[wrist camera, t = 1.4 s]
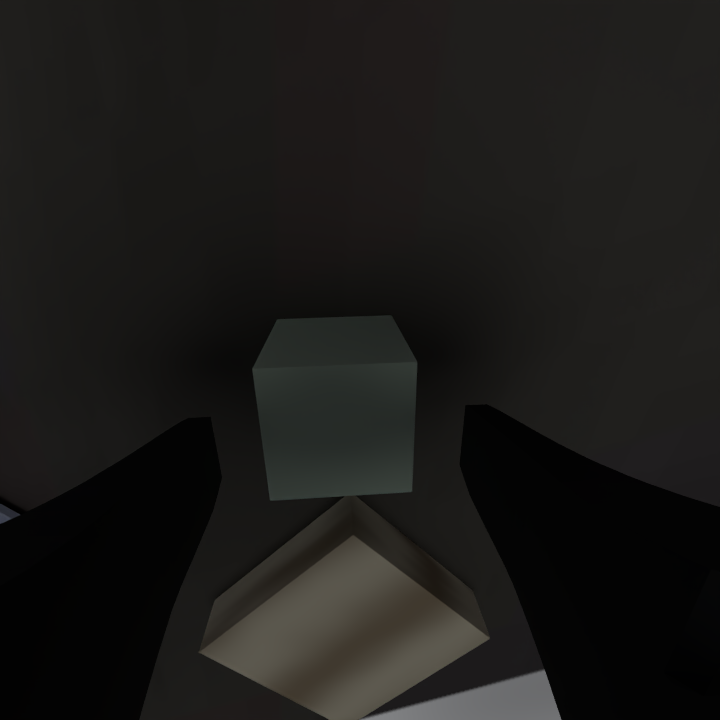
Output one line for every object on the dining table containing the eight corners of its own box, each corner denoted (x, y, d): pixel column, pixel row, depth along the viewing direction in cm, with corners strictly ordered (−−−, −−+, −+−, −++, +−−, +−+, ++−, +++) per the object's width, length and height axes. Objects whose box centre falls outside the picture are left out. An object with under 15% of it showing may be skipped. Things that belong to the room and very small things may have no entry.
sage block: (287, 418, 16) (270, 500, 12) (277, 318, 15) (252, 368, 10) (390, 413, 17) (412, 491, 12) (391, 314, 15) (417, 361, 10)
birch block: (217, 592, 21) (198, 652, 18) (350, 485, 18) (353, 534, 16) (343, 667, 24) (345, 727, 21) (470, 583, 22) (490, 638, 19)
